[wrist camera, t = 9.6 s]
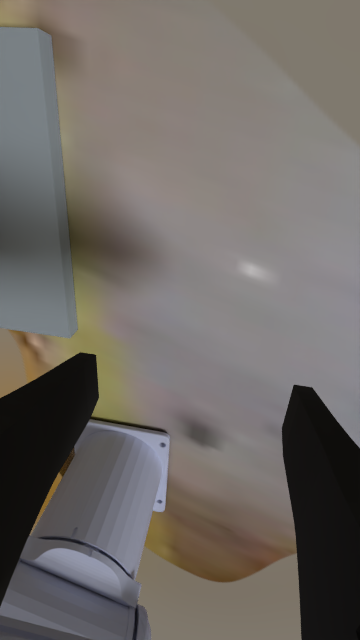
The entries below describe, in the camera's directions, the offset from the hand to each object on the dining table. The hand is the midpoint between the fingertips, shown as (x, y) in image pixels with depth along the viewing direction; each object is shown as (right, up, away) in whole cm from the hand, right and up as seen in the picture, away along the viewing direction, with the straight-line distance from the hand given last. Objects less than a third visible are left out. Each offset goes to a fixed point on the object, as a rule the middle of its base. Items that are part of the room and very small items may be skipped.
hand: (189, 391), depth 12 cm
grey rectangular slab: (-14, +10, +8) cm, 19 cm away
